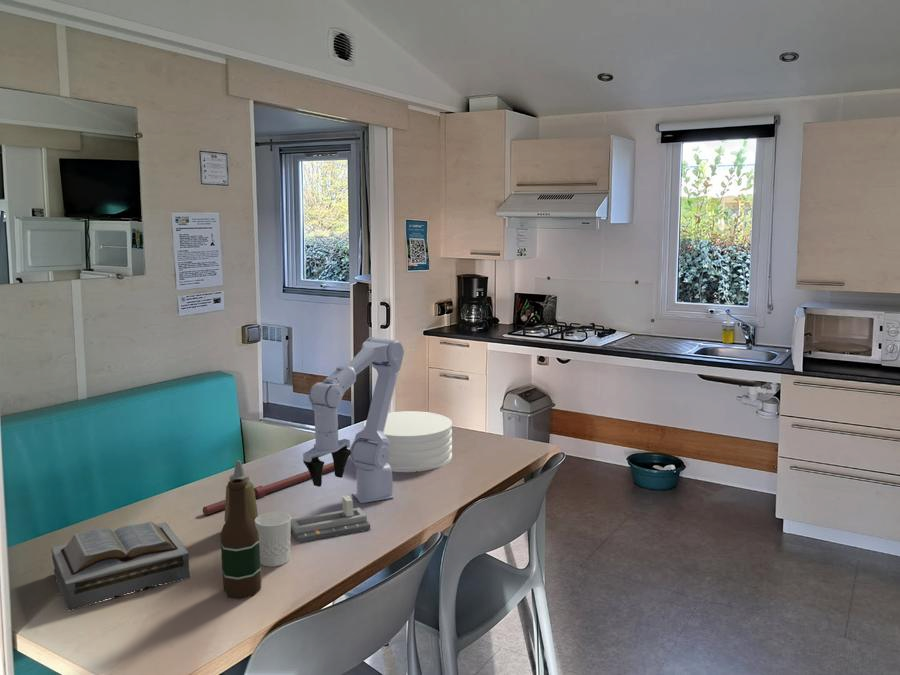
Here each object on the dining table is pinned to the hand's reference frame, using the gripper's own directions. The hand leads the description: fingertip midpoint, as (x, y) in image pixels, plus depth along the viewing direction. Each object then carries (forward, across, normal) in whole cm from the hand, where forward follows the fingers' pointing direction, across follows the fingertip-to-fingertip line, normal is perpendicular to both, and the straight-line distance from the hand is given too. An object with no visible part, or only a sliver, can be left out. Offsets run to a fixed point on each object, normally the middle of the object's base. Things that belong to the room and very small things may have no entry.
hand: (328, 481), depth 192 cm
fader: (+9, 0, +7) cm, 11 cm away
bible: (+10, +49, -14) cm, 52 cm away
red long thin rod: (+10, -4, -26) cm, 28 cm away
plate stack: (+11, -49, -14) cm, 52 cm away
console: (+10, +4, +4) cm, 12 cm away
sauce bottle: (+10, +37, +12) cm, 41 cm away
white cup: (+10, +24, +7) cm, 27 cm away
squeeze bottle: (+10, +18, -12) cm, 24 cm away
